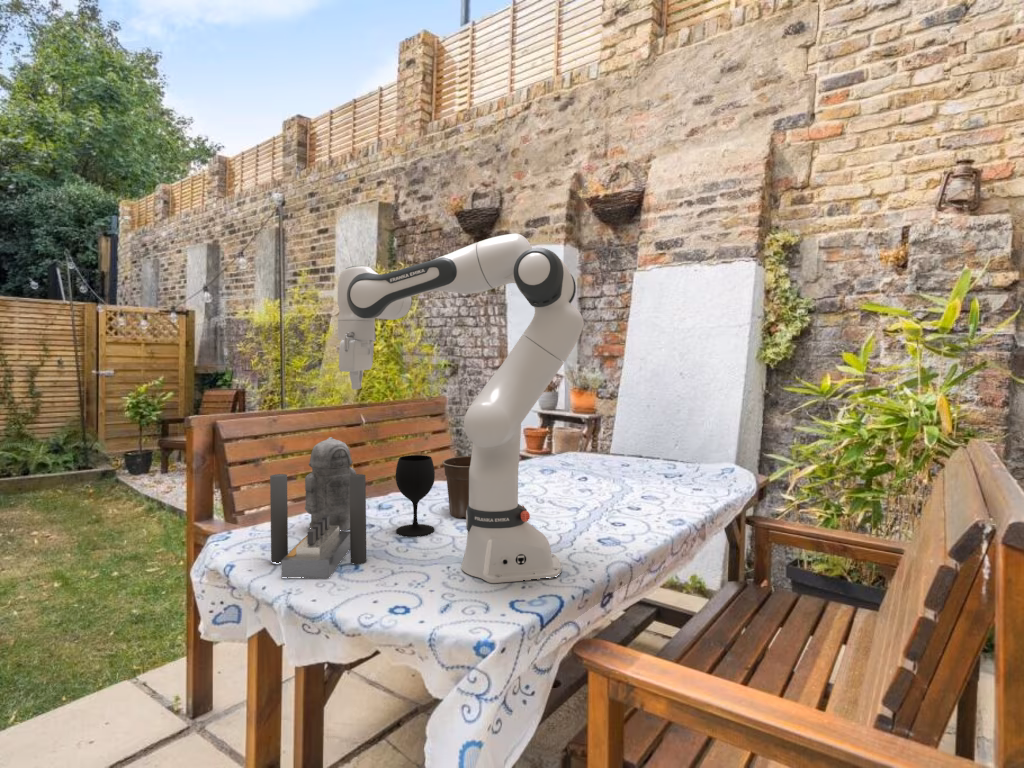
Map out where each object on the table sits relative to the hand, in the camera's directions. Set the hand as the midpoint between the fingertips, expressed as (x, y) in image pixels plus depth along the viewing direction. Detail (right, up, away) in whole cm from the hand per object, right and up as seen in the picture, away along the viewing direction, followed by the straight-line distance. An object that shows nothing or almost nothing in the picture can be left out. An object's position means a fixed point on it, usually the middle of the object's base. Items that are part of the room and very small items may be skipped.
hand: (356, 389), depth 144 cm
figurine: (-11, -38, +16) cm, 43 cm away
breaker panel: (-6, -40, -10) cm, 41 cm away
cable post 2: (+3, -40, -10) cm, 41 cm away
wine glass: (+12, -39, +14) cm, 43 cm away
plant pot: (+26, -38, +31) cm, 55 cm away
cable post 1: (-15, -40, -10) cm, 44 cm away
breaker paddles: (-6, -34, -10) cm, 36 cm away
